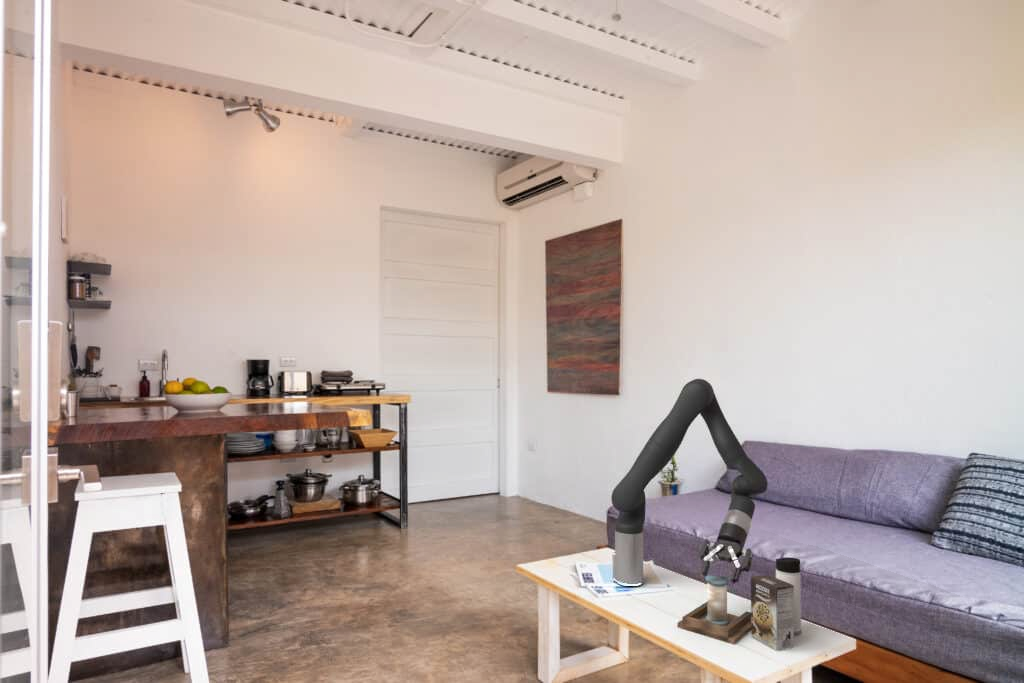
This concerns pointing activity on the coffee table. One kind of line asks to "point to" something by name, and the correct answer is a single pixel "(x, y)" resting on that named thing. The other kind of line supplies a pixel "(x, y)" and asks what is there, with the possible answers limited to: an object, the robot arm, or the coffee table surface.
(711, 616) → the beige and blue cylinder
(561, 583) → the coffee table surface
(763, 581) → the coffee box
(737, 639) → the open-sided brown tray
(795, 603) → the travel mug
